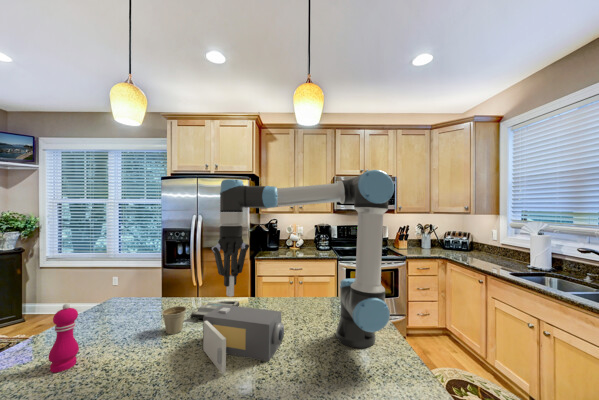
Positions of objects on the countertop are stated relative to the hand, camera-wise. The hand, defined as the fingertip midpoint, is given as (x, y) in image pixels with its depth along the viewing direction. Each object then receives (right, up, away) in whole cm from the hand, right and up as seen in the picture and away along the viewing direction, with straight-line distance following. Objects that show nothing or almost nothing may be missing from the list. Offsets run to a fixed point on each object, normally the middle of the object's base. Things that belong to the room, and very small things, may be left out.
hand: (230, 295), depth 84 cm
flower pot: (-30, -24, +21) cm, 43 cm away
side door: (-5, -21, -1) cm, 22 cm away
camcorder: (-16, -25, +39) cm, 49 cm away
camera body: (+3, -23, +9) cm, 25 cm away
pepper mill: (-53, -22, -3) cm, 58 cm away
